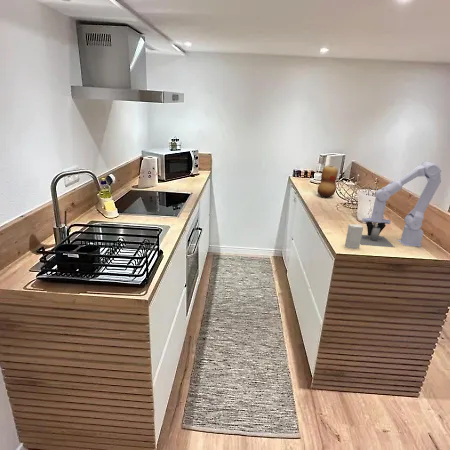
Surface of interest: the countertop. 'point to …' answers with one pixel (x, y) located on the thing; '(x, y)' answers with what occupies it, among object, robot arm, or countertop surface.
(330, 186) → the butternut squash
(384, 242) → the mat
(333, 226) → the countertop surface
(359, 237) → the skincare box
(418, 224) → the robot arm
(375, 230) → the connector
